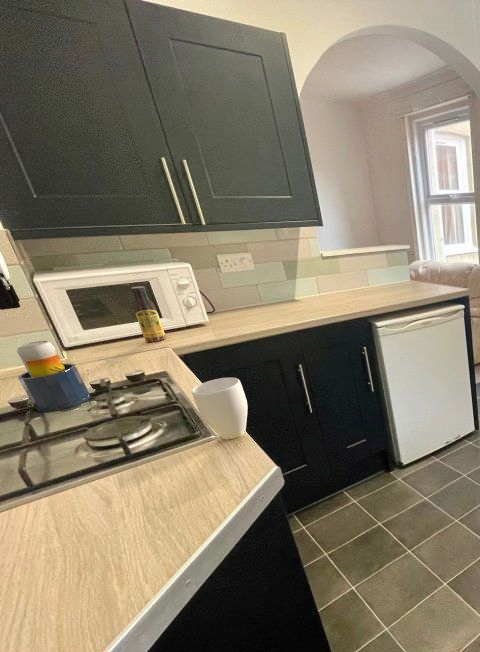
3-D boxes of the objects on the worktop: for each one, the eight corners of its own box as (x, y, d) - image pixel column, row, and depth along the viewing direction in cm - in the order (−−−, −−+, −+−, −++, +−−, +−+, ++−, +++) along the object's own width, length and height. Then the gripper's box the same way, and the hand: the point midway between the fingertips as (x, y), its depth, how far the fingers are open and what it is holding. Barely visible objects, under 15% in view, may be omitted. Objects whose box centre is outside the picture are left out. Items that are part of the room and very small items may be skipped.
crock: (37, 416, 101) (18, 382, 97) (36, 405, 107) (18, 372, 103) (93, 401, 108) (76, 369, 104) (88, 391, 114) (73, 360, 110)
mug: (261, 433, 88) (245, 383, 84) (216, 449, 83) (196, 397, 78) (244, 415, 96) (228, 370, 92) (202, 429, 91) (183, 381, 86)
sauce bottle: (146, 344, 154) (123, 289, 146) (145, 340, 158) (124, 287, 150) (168, 340, 158) (147, 286, 149) (167, 336, 162) (147, 284, 154)
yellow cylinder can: (82, 397, 108) (54, 341, 102) (50, 406, 103) (18, 349, 97) (74, 392, 111) (46, 338, 105) (42, 402, 106) (11, 346, 100)
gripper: (-54, 227, 93) (-13, 303, 100) (-62, 229, 82) (-16, 314, 89) (-3, 225, 98) (32, 298, 105) (-5, 226, 87) (35, 307, 94)
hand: (10, 305), depth 97 cm, fingers open, 9 cm apart
